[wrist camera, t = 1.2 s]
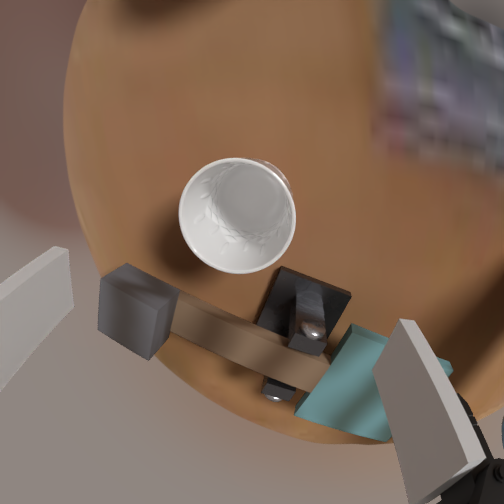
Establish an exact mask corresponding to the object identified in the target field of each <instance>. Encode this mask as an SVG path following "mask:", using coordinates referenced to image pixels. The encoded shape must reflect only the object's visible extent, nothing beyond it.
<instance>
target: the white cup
mask: <svg viewBox="0 0 504 504" xmlns="http://www.w3.org/2000/svg"><path fill="white" fill-rule="evenodd" d="M179 224H180V228H181V232H182V234H183V237H184V239H185V241H186V243H187V245H188V246H189V248H190V249H191V250H192V251H193V253H194V254H195V255H196V256H197V257H198V258H199V259H201V260H202V261H203V262H204V263H206V264H207V265H209V266H211V267H213V268H215V269H217V270H220V271H223V272H227V273H233V274H246V273H252V272H256V271H259V270H262V269H264V268H266V267H268V266H270V265H271V264H273V263H274V262H275V261H277V260H278V259H279V258H280V257H281V256H282V255H283V253H284V252H285V251H286V249H287V248H288V246H289V244H290V242H291V240H292V237H293V234H294V230H295V224H296V213H295V206H294V201H293V195H292V191H291V188H290V185H289V183H288V180H287V179H286V177H285V176H284V175H283V173H282V172H281V171H280V170H279V169H278V167H276V166H274V165H272V164H270V163H268V162H266V161H263V160H260V159H253V158H227V159H222V160H218V161H215V162H212V163H210V164H208V165H206V166H205V167H203V168H202V169H200V170H199V171H198V172H197V173H196V174H195V175H194V176H193V177H192V178H191V179H190V180H189V182H188V183H187V185H186V187H185V188H184V191H183V193H182V196H181V199H180V203H179Z"/></svg>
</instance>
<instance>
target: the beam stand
mask: <svg viewBox="0 0 504 504" xmlns="http://www.w3.org/2000/svg"><path fill="white" fill-rule="evenodd" d="M351 297H352V296H351V293H350V292H349V291H346V290H344V289H341V288H338V287H336V286H333V285H331V284H328V283H325V282H323V281H320V280H317V279H315V278H312V277H310V276H307V275H304V274H302V273H299V272H297V271H294V270H291V269H289V268H286V267H283V266H281V268H280V270H279V273H278V275H277V277H276V280H275V282H274V284H273V287H272V289H271V291H270V294H269V296H268V298H267V300H266V303H265V305H264V307H263V309H262V312H261V314H260V316H259V318H258V321H257V323H256V325H257V326H260V327H262V328H264V329H267V330H269V331H271V332H274V333H276V334H278V335H281V336H283V337H285V338H288V347H290V348H293V349H296V350H299V351H302V352H305V353H308V354H311V355H314V356H318V357H319V356H320V355H321V353H322V351H323V350H324V348H325V347H326V345H327V338H328V337H329V335H330V333H331V332H332V330H333V328H334V327H335V325H336V323H337V321H338V320H339V318H340V316H341V315H342V313H343V311H344V309H345V308H346V306H347V304H348V302H349V300H350V299H351ZM295 392H296V387H293V386H291V385H288V384H286V383H283V382H281V381H278V380H276V379H273V378H271V377H268V376H266V375H264V379H263V385H262V391H261V393H263V394H265V396H266V397H267V398H268V399H269V400H271V401H273V402H279V401H281V400H286V401H290V399H291V398H292V396H293V395H294V394H295Z"/></svg>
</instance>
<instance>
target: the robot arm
mask: <svg viewBox="0 0 504 504" xmlns="http://www.w3.org/2000/svg"><path fill="white" fill-rule="evenodd" d="M73 308H74V301H73V292H72V284H71V275H70V265H69V250H68V249H64V248H61V247H57V246H54V247H52V248H51V249H49V250H48V251H46V252H45V253H43V254H42V255H40V256H39V257H37V258H36V259H35V260H33V261H32V262H30V263H29V264H27V265H26V266H24V267H23V268H21V269H20V270H19V271H17V272H16V273H15V274H13V275H12V276H10V277H9V278H8V279H6V280H5V281H3V282H2V283H1V284H0V392H1V390H2V389H3V388H4V387H5V385H6V384H7V383H8V382H9V380H10V379H11V378H12V377H13V375H14V374H15V373H16V372H17V370H18V369H19V368H20V367H21V366H22V365H23V363H24V362H25V361H26V360H27V359H28V357H29V356H30V355H31V354H32V353H33V352H34V351H35V349H36V348H37V347H38V346H39V345H40V344H41V342H42V341H43V340H44V339H45V338H46V337H47V336H48V335H49V334H50V332H51V331H52V330H53V329H54V328H55V327H56V326H57V325H58V324H59V323H60V322H61V321H62V319H64V317H65V316H66V315H67V314H68V313H69V312H70V311H71V310H72V309H73ZM372 372H373V375H374V378H375V381H376V384H377V387H378V391H379V394H380V397H381V400H382V403H383V407H384V410H385V413H386V417H387V420H388V423H389V427H390V430H391V434H392V438H393V441H394V445H395V448H396V452H397V456H398V460H399V464H400V467H401V472H402V475H403V480H404V484H405V489H406V493H407V498H408V502H409V504H425V503H428V502H430V501H431V500H433V499H434V498H436V497H437V496H439V495H441V499H442V500H441V501H440V502H438V503H437V504H504V459H500V458H498V459H494V458H493V456H492V454H491V452H490V449H489V447H488V445H487V443H486V440H485V438H484V436H483V434H482V431H481V429H480V427H479V426H477V421H476V419H475V417H473V413H472V411H471V409H470V407H469V405H468V403H467V402H466V401H465V400H464V399H463V398H462V397H461V396H460V394H459V393H456V392H455V390H454V388H453V387H452V385H451V383H450V381H449V379H448V377H447V375H446V374H445V372H444V370H443V368H442V366H441V365H440V363H439V361H438V359H437V357H436V356H435V354H434V352H433V351H432V349H431V347H430V345H429V344H428V342H427V340H426V339H425V337H424V335H423V334H422V332H421V330H420V329H419V327H418V326H417V324H416V322H415V321H413V320H406V319H399V320H398V322H397V324H396V326H395V328H394V330H393V332H392V334H391V336H390V338H389V340H388V342H387V344H386V345H385V347H384V349H383V351H382V353H381V355H380V356H379V358H378V360H377V362H376V364H375V365H374V367H373V369H372ZM502 443H503V448H504V417H503V421H502Z"/></svg>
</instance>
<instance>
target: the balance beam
mask: <svg viewBox="0 0 504 504" xmlns="http://www.w3.org/2000/svg"><path fill="white" fill-rule="evenodd" d="M98 313H99V314H98V330H99V331H101V332H102V333H104V334H105V335H107V336H108V337H110V338H111V339H113V340H115V341H116V342H118V343H119V344H121V345H123V346H124V347H126V348H127V349H129V350H131V351H133V352H134V353H136V354H138V355H139V356H141V357H143V358H145V359H146V360H150V358H152V356H153V355H154V354H155V353H156V352H157V351H158V349H159V348H160V347H161V346H162V345H163V344H164V343H165V341H166V340H167V339H168V337H169V333H170V331H171V332H173V333H175V334H177V335H179V336H181V337H183V338H185V339H187V340H189V341H191V342H193V343H195V344H197V345H199V346H201V347H203V348H205V349H207V350H209V351H211V352H213V353H216V354H218V355H220V356H222V357H224V358H226V359H229V360H231V361H233V362H235V363H238V364H240V365H242V366H244V367H247V368H249V369H251V370H254V371H256V372H258V373H261V374H263V375H266V376H268V377H271V378H273V379H276V380H278V381H281V382H283V383H286V384H288V385H291V386H293V387H296V388H299V389H301V390H304V391H306V393H305V394H304V395H303V397H302V398H301V399H300V401H299V402H298V403H297V405H296V407H295V412H294V416H297V417H300V418H303V419H306V420H309V421H312V422H315V423H318V424H321V425H324V426H328V427H331V428H334V429H338V430H341V431H344V432H348V433H352V434H355V435H359V436H363V437H367V438H371V439H375V440H379V441H383V442H387V441H388V440H389V439H390V438H391V437H392V434H391V430H390V427H389V423H388V420H387V417H386V413H385V410H384V407H383V403H382V400H381V397H380V394H379V391H378V387H377V384H376V381H375V378H374V375H373V372H372V369H373V367H374V365H375V364H376V362H377V360H378V358H379V356H380V355H381V353H382V351H383V349H384V347H385V345H386V344H387V342H388V340H389V338H387V337H385V336H382V335H380V334H377V333H375V332H372V331H370V330H367V329H365V328H362V327H360V326H357V325H355V324H352V323H351V325H350V326H349V328H348V330H347V331H346V333H345V334H344V336H343V338H342V339H341V341H340V342H339V344H338V346H337V347H336V349H335V350H334V352H333V353H332V355H331V356H330V355H328V354H325V353H323V352H322V353H321V355H320V356H319V357H318V356H314V355H311V354H308V353H305V352H302V351H299V350H296V349H293V348H290V347H288V338H285V337H283V336H281V335H278V334H276V333H274V332H271V331H269V330H267V329H264V328H262V327H260V326H257V325H255V324H253V323H250V322H248V321H246V320H244V319H241V318H239V317H237V316H235V315H233V314H230V313H228V312H226V311H224V310H222V309H219V308H217V307H215V306H213V305H211V304H209V303H207V302H204V301H202V300H200V299H198V298H196V297H194V296H192V295H190V294H188V293H186V292H184V291H182V290H180V289H178V288H175V287H173V286H171V285H169V284H167V283H165V282H163V281H161V280H159V279H158V278H156V277H154V276H152V275H150V274H148V273H146V272H144V271H142V270H140V269H138V268H136V267H134V266H132V265H130V264H128V263H126V264H124V265H122V266H121V267H119V268H117V269H116V270H114V271H112V272H111V273H109V274H107V275H106V276H104V277H102V278H101V281H100V294H99V312H98ZM437 359H438V361H439V363H440V365H441V366H442V368H443V370H444V372H445V374H446V375H447V377H449V376H450V374H451V373H452V372H453V369H452V366H451V364H450V362H449V361H446V360H444V359H441V358H438V357H437Z"/></svg>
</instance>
